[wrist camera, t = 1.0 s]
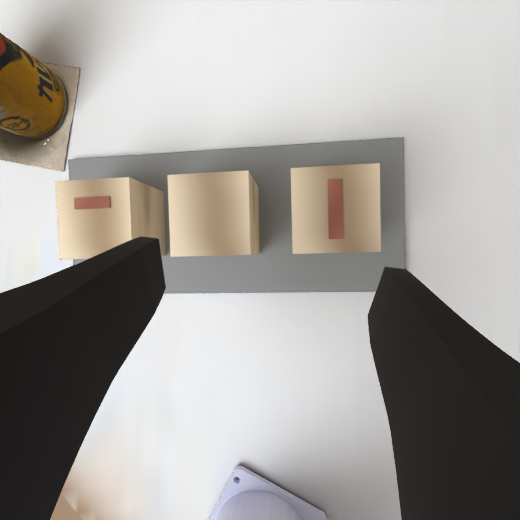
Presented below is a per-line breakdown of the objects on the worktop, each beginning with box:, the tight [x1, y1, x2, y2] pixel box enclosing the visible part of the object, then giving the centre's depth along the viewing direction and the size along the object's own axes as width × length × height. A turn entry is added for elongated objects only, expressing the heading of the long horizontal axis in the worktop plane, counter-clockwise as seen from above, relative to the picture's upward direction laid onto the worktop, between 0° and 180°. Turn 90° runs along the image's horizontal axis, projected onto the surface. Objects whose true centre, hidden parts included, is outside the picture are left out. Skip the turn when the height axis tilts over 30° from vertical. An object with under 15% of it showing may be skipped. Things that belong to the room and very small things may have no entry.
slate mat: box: [68, 137, 405, 293], centre depth 24 cm, size 26×11×1 cm, turn 92°
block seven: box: [55, 177, 166, 259], centre depth 22 cm, size 5×5×5 cm
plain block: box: [167, 170, 260, 257], centre depth 21 cm, size 5×5×5 cm
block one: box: [291, 163, 381, 254], centre depth 20 cm, size 5×5×5 cm
